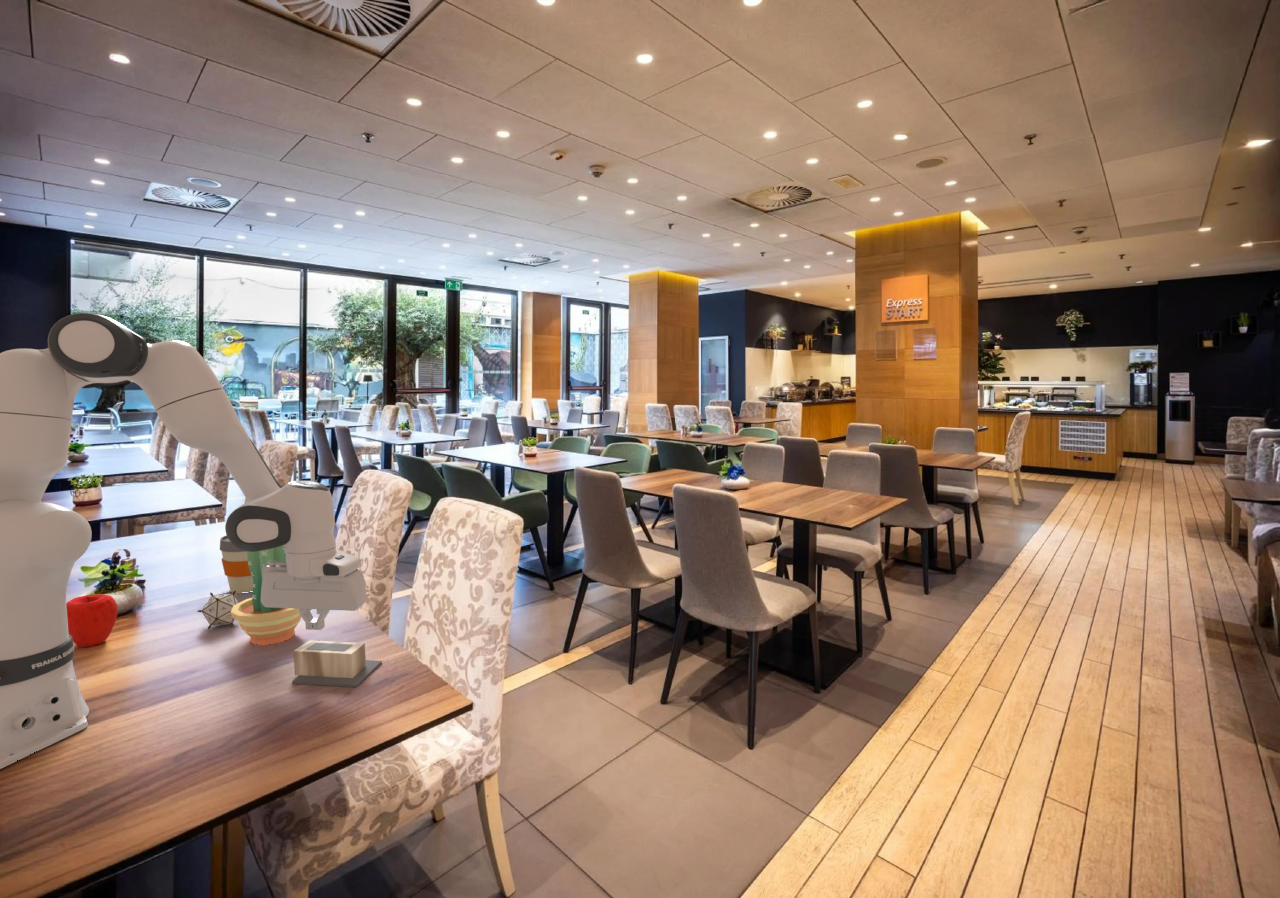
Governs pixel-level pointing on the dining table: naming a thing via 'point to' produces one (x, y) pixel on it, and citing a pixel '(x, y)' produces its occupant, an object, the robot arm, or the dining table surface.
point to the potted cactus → (254, 615)
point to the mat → (338, 681)
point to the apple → (91, 619)
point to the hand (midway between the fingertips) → (315, 628)
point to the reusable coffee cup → (236, 567)
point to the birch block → (329, 659)
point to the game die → (219, 609)
